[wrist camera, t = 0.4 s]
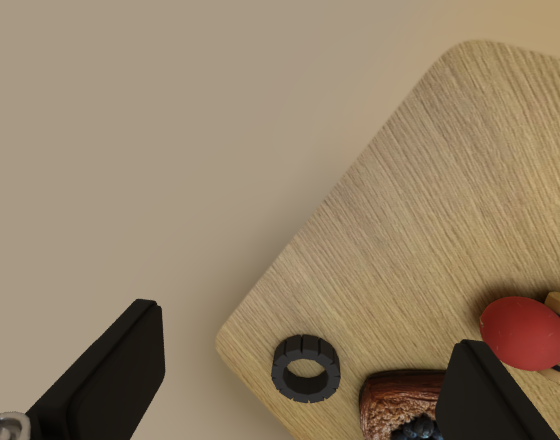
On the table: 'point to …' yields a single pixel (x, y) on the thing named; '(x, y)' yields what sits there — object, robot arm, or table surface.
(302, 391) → the ring
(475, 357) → the robot arm
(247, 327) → the table surface
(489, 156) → the table surface
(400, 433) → the pastry
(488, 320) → the kendama
